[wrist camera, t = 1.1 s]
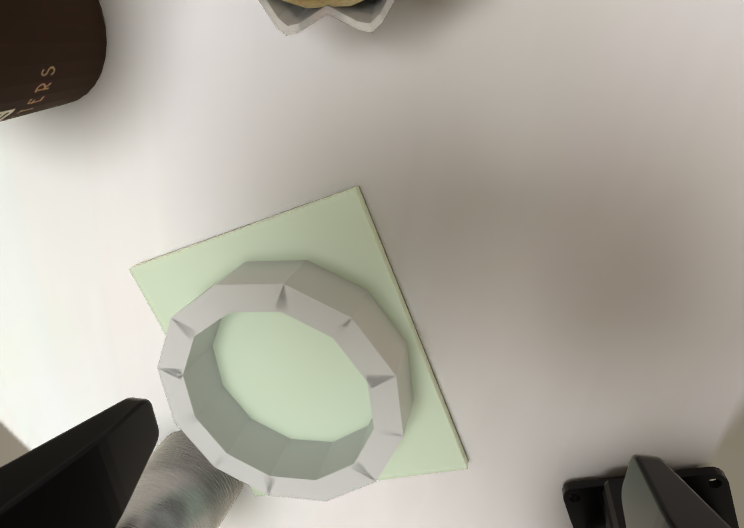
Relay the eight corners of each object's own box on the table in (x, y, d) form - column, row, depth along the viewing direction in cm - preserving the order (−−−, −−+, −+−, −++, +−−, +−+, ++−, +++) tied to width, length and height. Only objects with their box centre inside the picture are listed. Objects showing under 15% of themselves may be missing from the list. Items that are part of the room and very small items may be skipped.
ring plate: (468, 461, 24) (463, 512, 21) (259, 489, 28) (233, 535, 25) (358, 185, 20) (335, 205, 17) (135, 265, 24) (89, 291, 22)
